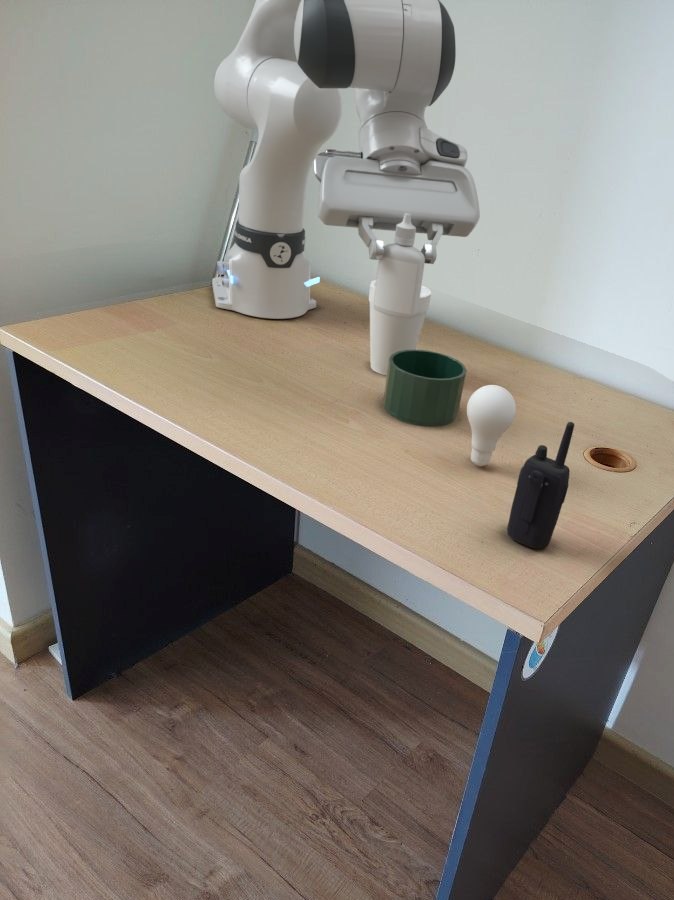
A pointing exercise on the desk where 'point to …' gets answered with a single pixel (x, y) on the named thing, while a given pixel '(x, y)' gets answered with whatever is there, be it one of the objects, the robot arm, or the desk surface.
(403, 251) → the eye dropper bottle
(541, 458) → the two-way radio
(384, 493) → the desk surface
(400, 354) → the tin
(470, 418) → the lightbulb
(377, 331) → the foam cup
